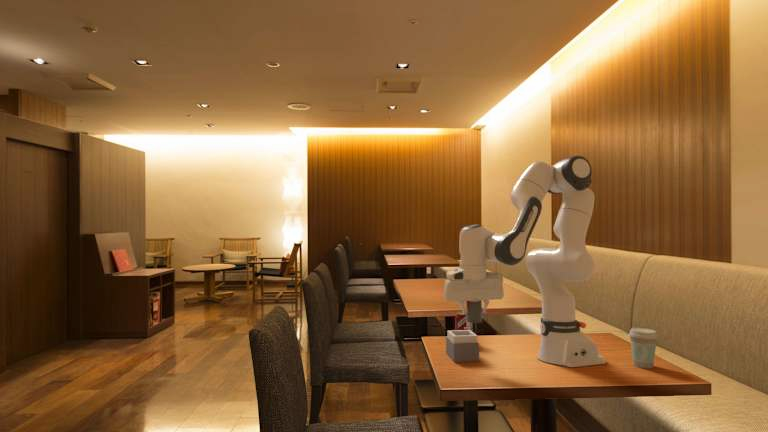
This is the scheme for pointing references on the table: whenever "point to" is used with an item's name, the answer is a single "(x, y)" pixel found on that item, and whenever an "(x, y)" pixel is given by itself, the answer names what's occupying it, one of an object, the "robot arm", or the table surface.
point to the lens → (474, 311)
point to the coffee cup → (643, 346)
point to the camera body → (462, 345)
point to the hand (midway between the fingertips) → (474, 313)
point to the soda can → (462, 322)
